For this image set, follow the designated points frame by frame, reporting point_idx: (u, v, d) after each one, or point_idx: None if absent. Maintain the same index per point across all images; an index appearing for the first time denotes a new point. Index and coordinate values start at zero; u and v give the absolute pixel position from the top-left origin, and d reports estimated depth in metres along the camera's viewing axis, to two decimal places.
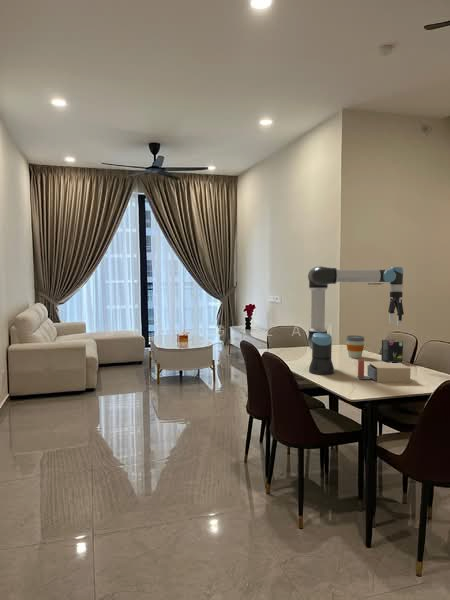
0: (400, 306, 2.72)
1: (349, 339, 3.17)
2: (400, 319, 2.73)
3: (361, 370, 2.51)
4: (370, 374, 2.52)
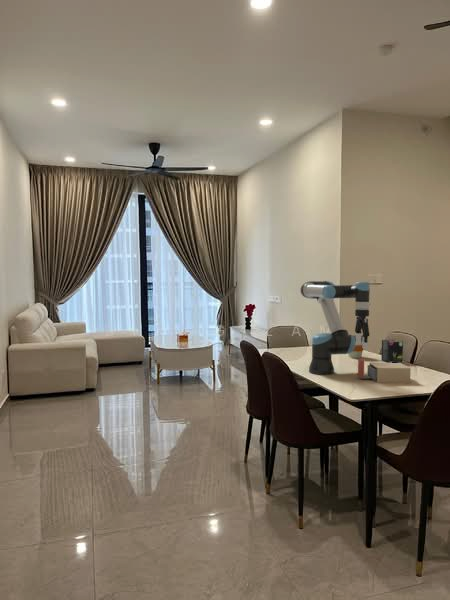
0: (366, 326, 2.42)
1: None
2: (366, 341, 2.43)
3: (361, 370, 2.51)
4: (370, 374, 2.52)
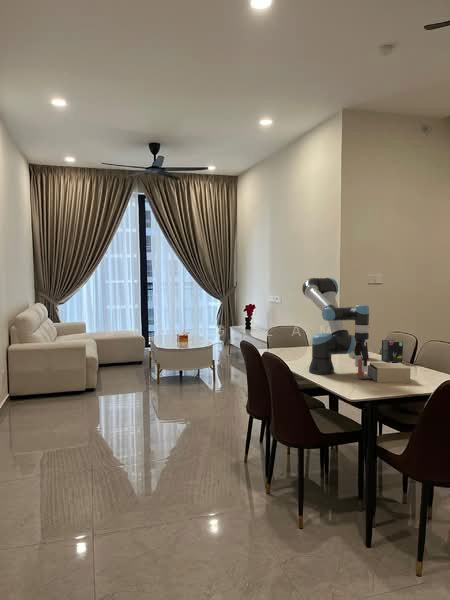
0: (365, 350, 2.43)
1: None
2: (365, 364, 2.43)
3: (361, 370, 2.51)
4: (370, 374, 2.52)
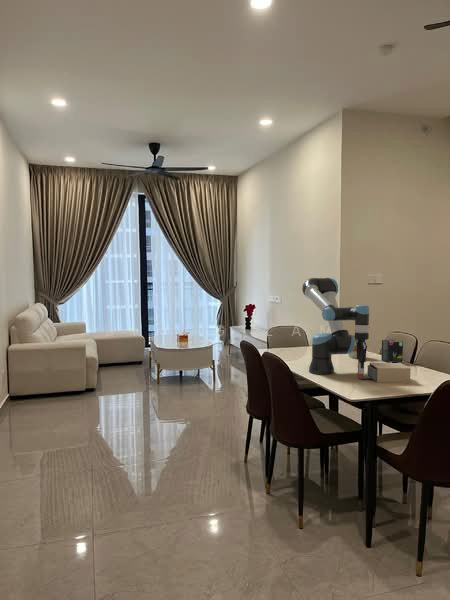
0: (363, 353, 2.46)
1: None
2: (362, 367, 2.49)
3: None
4: (370, 374, 2.52)
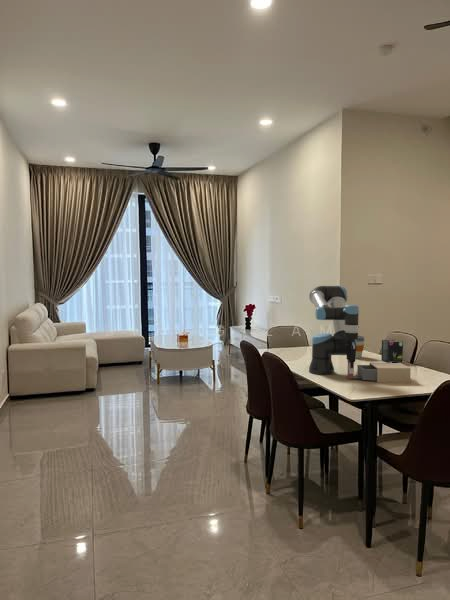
0: (353, 353, 2.46)
1: None
2: (352, 367, 2.49)
3: None
4: (360, 374, 2.52)
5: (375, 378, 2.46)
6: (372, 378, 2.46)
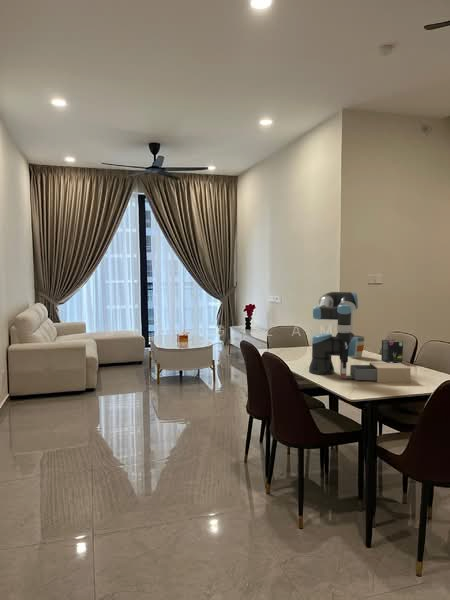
0: (345, 353, 2.46)
1: None
2: (344, 367, 2.49)
3: None
4: (352, 374, 2.53)
5: (368, 378, 2.46)
6: (365, 378, 2.46)
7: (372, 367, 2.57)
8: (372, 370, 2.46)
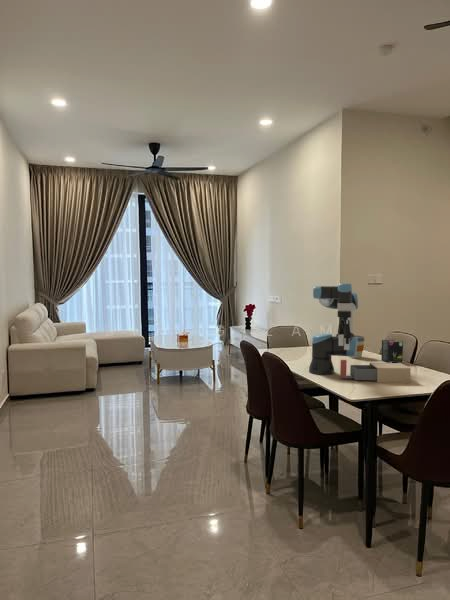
0: (347, 328, 2.43)
1: None
2: (347, 342, 2.43)
3: (343, 370, 2.51)
4: (352, 374, 2.53)
5: (368, 378, 2.46)
6: (365, 378, 2.46)
7: (372, 367, 2.57)
8: (372, 370, 2.46)
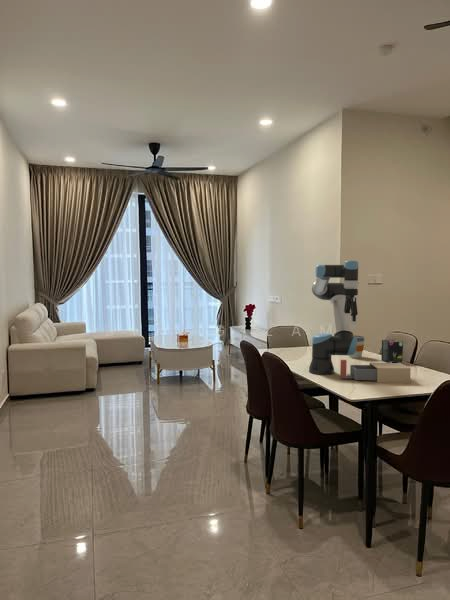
0: (354, 305, 2.40)
1: None
2: (354, 320, 2.40)
3: (343, 370, 2.51)
4: (352, 374, 2.53)
5: (368, 378, 2.46)
6: (365, 378, 2.46)
7: (372, 367, 2.57)
8: (372, 370, 2.46)
